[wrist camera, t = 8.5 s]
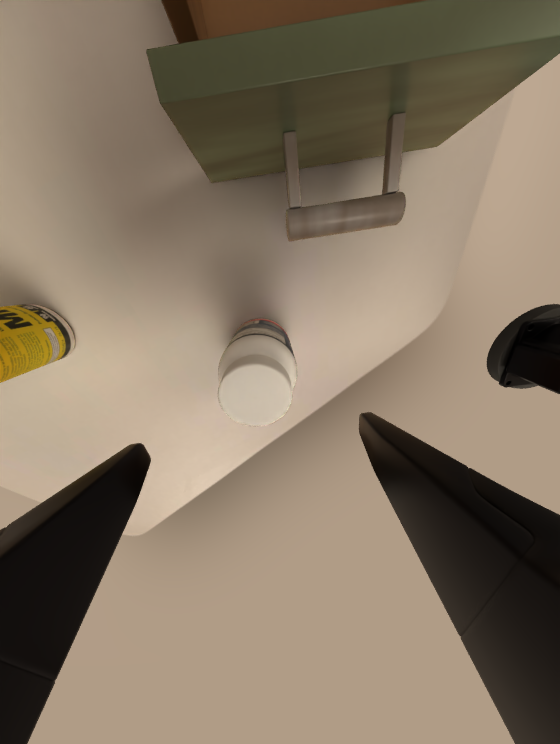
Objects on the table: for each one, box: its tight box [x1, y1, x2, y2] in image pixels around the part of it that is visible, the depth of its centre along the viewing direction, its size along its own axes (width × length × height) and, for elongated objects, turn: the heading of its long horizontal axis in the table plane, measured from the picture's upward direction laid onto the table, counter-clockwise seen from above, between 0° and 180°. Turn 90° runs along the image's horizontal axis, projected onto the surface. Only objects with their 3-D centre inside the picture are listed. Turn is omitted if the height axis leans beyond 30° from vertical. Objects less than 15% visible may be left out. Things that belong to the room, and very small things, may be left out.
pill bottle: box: [218, 318, 297, 426], centre depth 15 cm, size 5×5×9 cm
